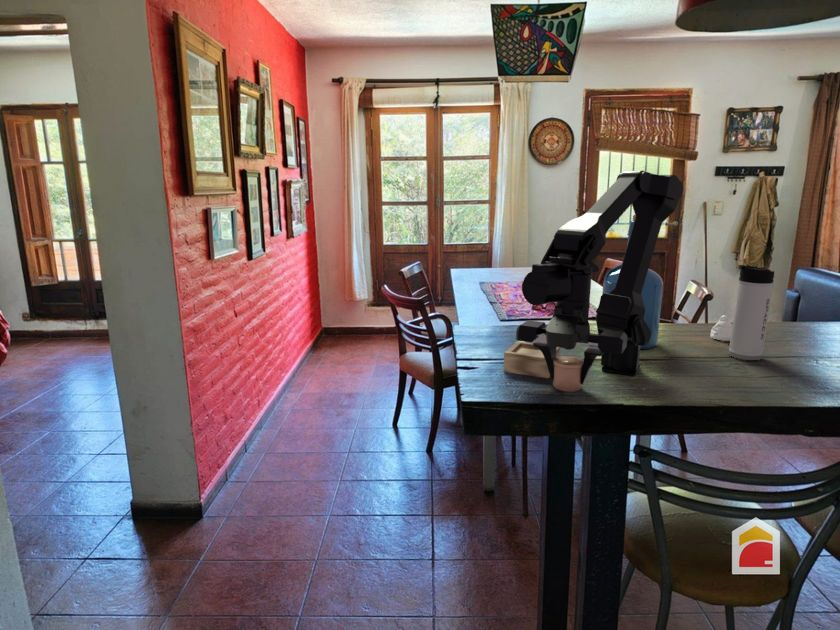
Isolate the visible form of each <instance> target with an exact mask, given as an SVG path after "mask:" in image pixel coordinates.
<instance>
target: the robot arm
mask: <svg viewBox="0 0 840 630" xmlns="http://www.w3.org/2000/svg"><path fill="white" fill-rule="evenodd" d="M683 192H684V185H683V182H682V181H681V180H680V178H679V176H677V175H676V174H655V173H651V172H648V171H645V170H625V171H623V172H620V173H619V174H618V175H617V177H616V180H615V181H614V182H613V184H612V185H611V186H610V187H609V188H608V189H607V190H606V191H605V192H604V193H603V194H602V195H601V196H600V197H599V199H598V200H597V201H596V202H595V203H594V204H593V205H592V206H591V207H590V208H589V209H588V210H587V212H585V213H584V214H582V215H581V216H579V217H576V218H573V219H570V220H569V221H568V222H566V223H564V225H562V226H561V227H559V228H558V229H557V231H556V232H555V234H554V236H553V239H552V240H551V243H550V245H549V246H548V248H547V250H546V252H545V254H544V256H543V257H542V260H541V262H540V263H534V264H532V265H531V271H530V272H528V273H527V274H526V275H525V276H524V279H523V281H522V282H521V291H522V295H523V297H524V299H525V300H526V302H528V303H529V304H530V305H532V306H540V305H541V306H542V305H547V304H553V303H555V305H554V310H553V315H552V317H551V319H550V321H549V322H548V325H546V322H545V321H538V320H529V319H527V320H526V321H524V322H523V323H521V324H520V325H518V327H517V328H516V332H515V333H516V334H515V335H516V336H515V340H516V341H520V342H527V343H533V342H534V343H533V346H534V347H537V348H539V349H540V350H541V352H542V353H543V355H544V358H545V360H546V363H547V367H548V370H549V373H550V379H551V380H554V363H553V362H554V358H556V349H557V347H560V349H564V350H568V351H569V350H574V349H575V348H576V345H577V343H579V344H587V348H586V349H585V351H584V352H583V357H584V358H583V361H584V362H583V367H582V373H581V383H580V384H581V386H582V385H584V383H585V382H586V379H587V377H588V374H589V372H590V370H591V368H592V366H593V364H594V363H595V362H594V361H596V358H597V357H600V365H601V371H602V372H606V373H607V372H609V373H614V374H620V375H621V374H622V375H627V376H636V375H637V374H638V372H639V369H640V367H641V364H640V353H641V349H640V346H645V345H646V344H647V343H649V341H650V337H651V334H652V332H651V330H650V329H649V327H648V325H647V324H646V322H645V320H644V314H645V306H644V303H643V299H642V296H641V292H642V289H643V285H644V282H645V279H646V275H647V272H648V269H650V264H651V262H652V258H653V255H654V251H655V249H656V244H657V240H658V237H659V235H660V231H661V228H662V225H663V223H664V222H665V221H666V220H667V219H668V218H669V217H670V216H671V215H672V214H673V213H674V212H675V211H676V209H677V206H678V204H679V201H680V199H681V198H682V196H683ZM631 206H632V209H633V213H634V215H635V216H636V218H635V222H634V225H633V228H632V232H631V235H630V238H629V242H628V241H627V243H628V245H627V244H626V245H627V246H626V249H625V252H624V256H623V259H622V262H621V264H622V266H621V269H620V272H619V276H618V279H617V282H616V286H615V288H614V289H613V290H612V291H611V292H610V293H609V294H607V293H603V292H602V293H603V294H601V296H600V299H599V304H598V307H597V308H596V311H595V313H596V314H595V323H596V324H595V325H596V329H597V333H591V326H590V322H589V312H590V311H589V310H590V306H591V305H590V304H591V302H590V301H591V288H592V287H591V285H592V276H593V274H592V273H598V272H599V271H600V267H599V266H598V265H597V264H596V263H595V262H594V260H595V259H596V258H597V257H598V256H599V254H600V252H601V251H602V249H603V248H604V246H605V245H606V242H607V241H606V240H607V235H606V234H607V233H608V232H609V230H610V228H611V227H612V226H613V225H614V224H616V222H617V221H618V220H619V219H620V218H621V217H622V215H624V213H625V212H626V211H627V210H628V209H629V207H631Z"/></svg>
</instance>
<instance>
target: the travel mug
mask: <svg viewBox="0 0 840 630" xmlns="http://www.w3.org/2000/svg"><path fill="white" fill-rule="evenodd" d="M738 269H740V270H739V271H740V272H739V278H738V284H737V289H736V298H735V304H734V313H733V318H732V332H731V339H730V342H729V348H728V356H730V357H731V356H732V357H731V358H733V357H734V358H733V359H736V358H738V359H737V360H740V359H743V360H742V361H746V360H758V361H760V359H761V360H762V359H763V355H764V354H763V353H764V352H763V351H764V348H765V347H764V345H765V341H766V340H765V339H766V335H767V334H766V332H767V328H768V327H767V326H768V320H769V316H770V315H769V314H770V307H771V302H772V295H773V288H774V286H773V285H774V279H775V270H771V269H769V268H764V267H763V268H762V267H757V266H750V265H744V264H739V265H738Z"/></svg>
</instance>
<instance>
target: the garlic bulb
mask: <svg viewBox="0 0 840 630" xmlns="http://www.w3.org/2000/svg"><path fill="white" fill-rule="evenodd" d="M732 325H733V323H732V322H731V321H730V320H729V317H728V316H727V315H720V318H719V319H718V321H717V322H716V323H715V324H714V326H712V328H711V330H710V335H709V337H710V338H711V339H712V338H713V339H712V340H714V339H717V340H725V341H730V339H731V332H732ZM717 340H716V341H717Z"/></svg>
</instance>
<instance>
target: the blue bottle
mask: <svg viewBox="0 0 840 630" xmlns="http://www.w3.org/2000/svg"><path fill="white" fill-rule="evenodd" d="M635 218H636V216H635V214H633V216H632V220H630V222H629V226H628V230H627V234H626V235H627V236H628V237H627V244H626V245H628V242H629V238H630V235H631V232H632V228H633V225H634V222H635ZM621 266H622V263H621V264H619V265H617V266H615V267H613V268H611V269H610V270H609V271H608V272H607V273H606V274H605V275H604V280H603V284H602V292H601V293H602V294H603V293H607V294H609V293H610V292H611V291H612V290H613V289H614V288H615V286H616V282H617V279H618V276H619V272H620V269H621ZM663 291H664V282H663V279H662V277H661V276H660V274H658V273H657V272H656V271H654V270H653V269H650V268H649V269H648V272H647V275H646V279H645V282H644V285H643V289H642V292H641V296H642V299H643V303H644V306H645V314H644V320H645V322H646V324H647V325H648V327H649V329H650V330H651V332H652V334H651V337H650V341H649V343H647V344H646V345H645V346H640V350H647V349H650V348H653V347H655V346H657V344H658V341H659V340H658V339H659V332H660V331H659V329H660V321H661V313H662V312H661V310H662V301H663V293H664V292H663ZM602 294H601V295H602Z"/></svg>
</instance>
